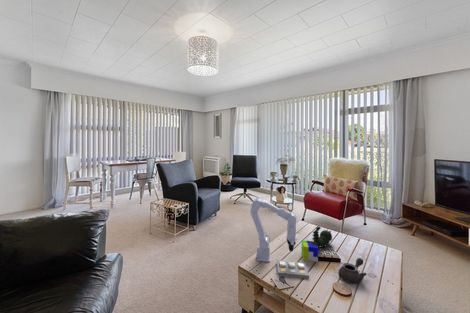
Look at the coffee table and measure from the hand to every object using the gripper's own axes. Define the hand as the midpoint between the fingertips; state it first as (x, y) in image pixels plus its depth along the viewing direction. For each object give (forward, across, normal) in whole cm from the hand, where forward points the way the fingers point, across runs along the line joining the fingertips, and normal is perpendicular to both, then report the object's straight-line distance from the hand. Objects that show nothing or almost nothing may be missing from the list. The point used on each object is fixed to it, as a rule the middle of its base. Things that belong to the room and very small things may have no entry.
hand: (290, 250), depth 144 cm
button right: (+8, -7, -6) cm, 12 cm away
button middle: (+8, -7, 0) cm, 10 cm away
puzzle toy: (+10, +11, -15) cm, 21 cm away
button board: (+9, -8, 0) cm, 12 cm away
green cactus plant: (+10, +32, -30) cm, 44 cm away
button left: (+8, -6, +6) cm, 12 cm away
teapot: (+10, -9, -38) cm, 40 cm away
